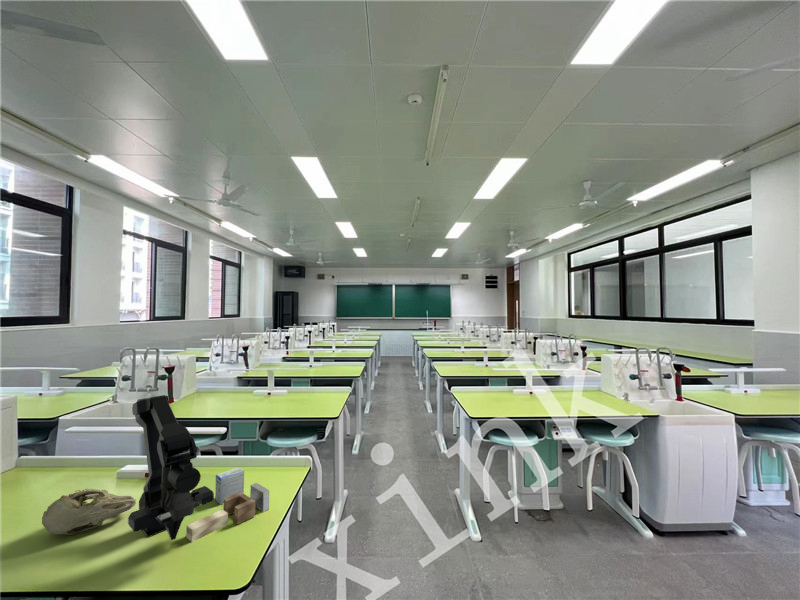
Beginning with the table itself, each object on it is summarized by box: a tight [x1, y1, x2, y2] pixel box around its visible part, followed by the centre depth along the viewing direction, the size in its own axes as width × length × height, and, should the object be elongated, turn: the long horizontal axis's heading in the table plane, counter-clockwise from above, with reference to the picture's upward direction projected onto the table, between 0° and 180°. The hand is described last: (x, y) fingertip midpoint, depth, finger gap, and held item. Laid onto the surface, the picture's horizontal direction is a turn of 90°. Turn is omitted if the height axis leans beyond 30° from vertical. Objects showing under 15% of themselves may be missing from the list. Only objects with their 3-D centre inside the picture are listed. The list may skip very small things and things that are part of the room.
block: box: [185, 509, 229, 543], centre depth 100 cm, size 10×4×4 cm, turn 145°
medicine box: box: [214, 467, 245, 505], centre depth 118 cm, size 8×4×9 cm, turn 141°
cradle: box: [222, 492, 256, 525], centre depth 107 cm, size 6×9×4 cm, turn 52°
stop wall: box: [249, 482, 270, 513], centre depth 112 cm, size 2×8×6 cm, turn 52°
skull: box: [41, 488, 137, 536], centre depth 102 cm, size 11×20×15 cm
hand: (172, 539), depth 93 cm, fingers closed
